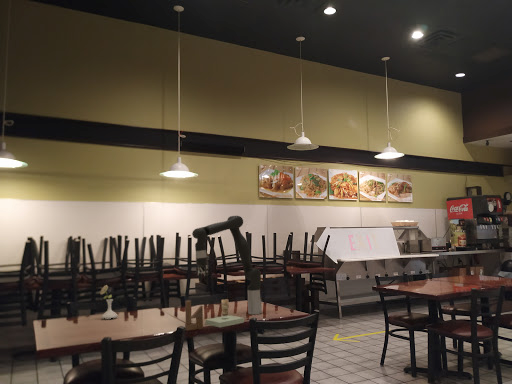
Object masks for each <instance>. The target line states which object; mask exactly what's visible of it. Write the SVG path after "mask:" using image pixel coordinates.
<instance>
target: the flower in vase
mask: <svg viewBox="0 0 512 384" xmlns="http://www.w3.org/2000/svg"><path fill="white" fill-rule="evenodd" d="M108 289H109V286H108V285H107V284H106V285H104V286H103V287H101V290H100V291H99V294H100V295H104V294H106V295H105V296H104V297H103V298H102V299H104V300H106V303H107V310H106V311H105V312H104V313H103V314H102V315H101V319H103V318H105V319H104V320H112V319H111V318H113V319H115V318H117V317H118V316H119V315H118V314H117V313H116V312H115V311H113V310H112V303H113V301H114V299H113V298H112V297H113V296H112V294H110V295H108V292H107V291H108ZM107 298H108V299H107Z"/></svg>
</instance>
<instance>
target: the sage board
mask: <svg viewBox="0 0 512 384" xmlns="http://www.w3.org/2000/svg"><path fill="white" fill-rule="evenodd" d="M243 323H245V318H244V317H243V316H236V315H229V314H228V315H227V316H223V315H222V316H217V317H212V318H207V319H205V325H207V326H211V327H216V328H224V327H229V326H234V325H239V324H243Z"/></svg>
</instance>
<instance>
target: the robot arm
mask: <svg viewBox="0 0 512 384" xmlns="http://www.w3.org/2000/svg"><path fill="white" fill-rule="evenodd" d="M243 224H244V219H243V217H242V216H240V215H231V216H229V217H228V218H227V220H225V221H224V220H223V221H220V222H216V223H212V224H208V225H206V226H202V227H197V228H195V229H194V230H192V233H191V234H192V235H191V236H192V237H193V239H196V240H197V241H196V243H195V245H194V247H195V264H196V265H195V269H196V270H195V272H196V275H197V276H198V281H199V282H202V281H203V279H204V282H208V281H209V278H208V277H209V276H208V275H210V269H209V265H206V264H208V256H207V255H208V254H207V248H206V240H207V236H211V235H215V234H218V233H221V232H224V231H227V230H230V234H231V236H232V239H233V240H234V244H235V246H236V250H237V253H238V255H239V258H240V262H241V264H242V267H243V269H242V270H243V274H244V276H245V279H246V280H247V281H250V284H249V285H248V286H247V312H248V315H259V314H262V313H263V312H262V308H263V307H262V299H261V285H262V284H261V283H262V274H261V270H260V269H259V268H255V267H253V265H252V263H251V256H252V255H251V253H252V251H251V248H250V247H251V246H250V245H249V244H250V243H249V242H248V240H247V239H246V238H245V236H244V235H243V233H241V230H240V228H241V227H242V226H243ZM202 274H203V275H204V276H203V275H202ZM203 277H204V278H203Z"/></svg>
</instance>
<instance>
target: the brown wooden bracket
mask: <svg viewBox="0 0 512 384" xmlns="http://www.w3.org/2000/svg"><path fill="white" fill-rule="evenodd" d="M184 303H185V307H184V308H185V309H184V310H185V324H184V328H185V327H186V330H185V331H186V332H187V331H194V330H195V331H196V330H202V329H204V323H203V322H204V321H203V320H204V315H203V313H204V312H203V309H204V308H203V307H204V306H203V305H200V306H199V307H198V308H197V310H195V312H194V313H193V314H192V300H191V299H190V300H185V302H184ZM192 319H195V322H192Z"/></svg>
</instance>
